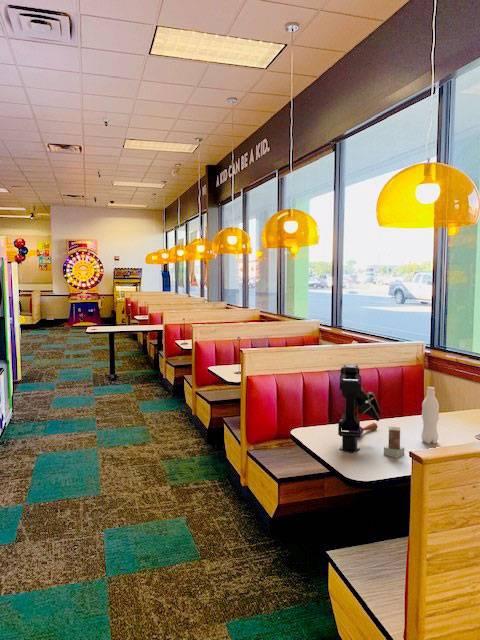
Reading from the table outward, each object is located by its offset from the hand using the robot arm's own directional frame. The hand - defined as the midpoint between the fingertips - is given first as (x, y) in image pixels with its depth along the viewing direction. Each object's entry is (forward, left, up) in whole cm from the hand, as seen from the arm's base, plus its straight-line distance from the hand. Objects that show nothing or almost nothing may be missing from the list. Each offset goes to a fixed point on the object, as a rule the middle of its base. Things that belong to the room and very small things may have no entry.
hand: (379, 417), depth 213 cm
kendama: (+8, +13, -13) cm, 20 cm away
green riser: (-5, -10, -12) cm, 17 cm away
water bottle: (+20, -13, -13) cm, 27 cm away
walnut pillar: (-5, -10, -9) cm, 15 cm away
